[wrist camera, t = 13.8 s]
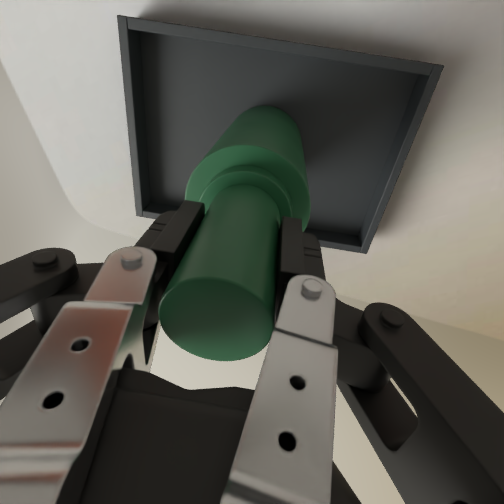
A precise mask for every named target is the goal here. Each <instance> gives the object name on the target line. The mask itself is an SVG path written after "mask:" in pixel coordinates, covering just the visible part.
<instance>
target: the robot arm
mask: <svg viewBox="0 0 504 504" xmlns="http://www.w3.org/2000/svg"><path fill="white" fill-rule="evenodd" d="M204 216H205V204H204V203H201V202H195V201H189V200H184V201H183V203H182V204H181V206H180V207H179V208H178V210H177V211H173V210H168V211H167V212H165V213H163V214H161V215H159V216H158V217H157V218H156V220H155V221H154V222H153V224H152V225H151V226H150V227H149V230H147V231H146V232H145V233H144V234H143V236H142V237H141V238H140V239H139V241H138V242H137V243H136V245H135V246H130V247H124V248H121V249H118V250H116V251H114V252H112V253H111V254H110V255H109V256H108V257H107V258H106V260H105V262H104V263H90V264H89V263H88V264H77V263H76V258H75V255H74V254H73V253H72V252H71V251H69V250H67V249H62V248H46V249H40V250H37V251H33V252H31V253H28V254H26V255H24V256H21V257H19V258H16V259H14V260H11V261H9V262H7V263H4V264H2V265H0V323H2V322H4V321H6V320H7V319H9V318H11V317H13V316H15V315H17V314H18V313H20V312H22V311H24V310H26V309H28V308H29V307H30V309H31V312H32V314H33V317H34V319H35V320H33V321H31V322H30V323H28V324H26V325H25V326H23V327H21V328H19V329H18V330H16V331H14V332H13V333H11V334H9V335H7V336H6V337H4V338H2V339H1V340H0V400H1V399H3V398H4V397H6V398H5V399H4V401H3V402H2V404H1V406H0V504H361V502H360V501H359V499H358V498H357V496H356V495H355V493H354V492H353V491H352V489H351V487H350V486H349V484H348V483H347V481H346V480H345V478H344V477H343V475H342V474H341V472H340V471H339V470H338V468H337V466H336V465H335V463H334V462H333V460H332V459H333V440H334V422H335V420H334V419H335V402H336V383H337V385H338V387H339V389H340V391H341V392H342V394H343V396H344V398H345V399H346V401H347V403H348V404H349V406H350V408H351V410H352V412H353V413H354V415H355V417H356V418H357V420H358V422H359V424H360V426H361V427H362V429H363V431H364V432H365V434H366V436H367V438H368V439H369V441H370V443H371V445H372V446H373V448H374V450H375V452H376V453H377V455H378V457H379V459H380V460H381V462H382V464H383V466H384V467H385V469H386V471H387V472H388V474H389V476H390V477H391V479H392V481H393V483H394V485H395V486H396V488H397V490H398V492H399V493H400V495H401V497H402V499H403V500H404V502H405V504H504V413H503V412H502V411H501V410H500V409H499V408H498V407H497V405H496V404H495V403H493V401H492V400H491V399H490V398H489V397H488V396H486V394H485V393H484V392H483V391H482V390H481V389H480V388H479V387H478V386H477V385H476V384H475V383H474V382H473V381H472V380H471V379H470V378H469V377H468V376H467V374H466V373H465V372H464V371H462V370H461V368H460V367H459V366H458V365H457V364H456V363H455V362H454V361H453V360H452V359H451V358H450V357H449V356H448V355H447V354H446V353H445V352H444V351H443V350H442V349H441V348H440V347H439V346H438V345H437V344H436V343H435V341H433V339H432V338H431V337H430V336H429V335H428V334H427V333H426V332H425V331H424V330H423V329H422V328H421V327H420V326H419V325H418V324H417V323H416V322H415V321H414V320H413V319H412V318H411V317H410V316H409V315H408V314H407V313H405V312H404V311H403V310H401V309H399V308H397V307H395V306H393V305H390V304H386V303H372V304H369V305H368V306H367V307H366V308H365V310H364V311H362V310H359V309H357V308H354V307H352V306H349V305H347V304H345V303H343V302H341V301H340V300H338V299H337V298H336V293H335V290H334V288H333V287H332V286H331V285H330V284H329V283H328V282H327V281H326V279H325V273H324V266H323V260H322V254H321V248H320V242H319V240H318V239H317V238H316V237H315V236H314V234H312V233H306V232H302V220H301V219H298V218H292V217H286V216H282V219H281V224H280V229H279V245H278V262H277V280H276V304H275V322H274V329H273V332H272V335H271V339H270V342H269V345H268V349H267V352H266V355H265V359H264V362H263V365H262V368H261V372H260V375H259V378H258V382H257V385H256V389H255V390H251V389H245V388H240V387H224V388H211V389H197V390H187V389H184V388H182V387H179V386H177V385H175V384H173V383H171V382H169V381H166V380H164V379H162V378H160V377H158V376H156V375H153V374H151V373H150V368H151V365H152V361H153V356H154V352H155V348H156V343H157V339H158V335H159V330H160V326H161V324H160V321H159V315H158V307H159V302H160V300H161V297H162V295H163V293H164V292H165V290H166V288H167V286H168V284H169V282H170V280H171V278H172V276H173V275H174V273H175V271H176V269H177V267H178V265H179V263H180V261H181V259H182V257H183V256H184V254H185V252H186V250H187V248H188V246H189V244H190V242H191V240H192V238H193V237H194V235H195V233H196V231H197V229H198V227H199V225H200V223H201V221H202V219H203V218H204ZM391 377H392V378H393V380H394V381H395V382H396V384H397V385H398V387H399V388H400V389H401V391H402V392H403V393H404V395H405V396H406V397H407V399H408V400H409V401H410V403H411V404H412V406H413V407H414V409H415V411H416V414H417V417H418V418H417V417H416V415H415V414H414V413H413V411H412V410H411V408H410V407H409V406H408V404H407V403H406V402H405V400H404V399H403V397H402V396H401V395H400V393H399V392H398V391H397V389H396V388H395V387H394V385H393V384H392V382H391V381H390V378H391Z"/></svg>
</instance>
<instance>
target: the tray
mask: <svg viewBox="0 0 504 504" xmlns="http://www.w3.org/2000/svg"><path fill="white" fill-rule="evenodd" d="M117 20H118V30H119V41H120V51H121V62H122V72H123V83H124V93H125V103H126V114H127V124H128V135H129V145H130V156H131V166H132V176H133V187H134V197H135V208H136V216H140V217H146V218H152V219H156V218H157V217H158V216H159V215H161V214H163V213H165V212H167V211H168V210H173V211H177V210H178V208H179V207H180V206H181V204H182V203H183V201H184V200H185V191H186V187H187V183H188V180H189V178H190V176H191V174H192V172H193V170H194V169H195V168H196V166H197V165H198V164H199V163H200V161H201V160H202V159H203V158H204V157H205V155H206V154H207V153H208V152H209V151H210V149H211V148H212V147H213V146H214V145H215V143H216V142H217V141H218V140H219V139H220V137H221V136H222V135H223V134H224V133H225V131H226V130H227V129H228V128H229V127H230V125H231V124H232V123H233V122H234V121H235V119H236V118H237V117H238V116H239V115H240V114H242V113H243V112H244V111H246V110H248V109H250V108H253V107H256V106H272V107H276V108H278V109H281V110H282V111H284V112H286V113H287V114H288V115H289V116H290V117H291V118H292V119H293V120H294V121H295V123H296V124H297V126H298V128H299V131H300V134H301V139H302V145H303V152H304V159H305V166H306V172H307V179H308V186H309V193H310V201H311V212H310V217H309V221H308V224H307V227H306V229H305V231H304V232H306V233H312V234H314V236H315V237H316V238H317V239H318V240H319V242H320V246H321V247H327V248H334V249H340V250H346V251H352V252H358V253H359V252H360V253H364V254H367V252H368V249H369V247H370V244H371V242H372V240H373V237H374V235H375V232H376V230H377V228H378V225H379V223H380V220H381V218H382V215H383V213H384V211H385V208H386V206H387V203H388V201H389V198H390V196H391V194H392V191H393V189H394V186H395V184H396V182H397V179H398V177H399V174H400V172H401V169H402V167H403V165H404V162H405V160H406V157H407V155H408V153H409V150H410V148H411V145H412V143H413V140H414V138H415V136H416V133H417V131H418V128H419V126H420V123H421V121H422V119H423V116H424V114H425V111H426V109H427V107H428V104H429V102H430V99H431V97H432V94H433V92H434V90H435V87H436V85H437V82H438V80H439V78H440V75H441V73H442V70H443V68H444V65H439V64H432V63H426V62H419V61H413V60H406V59H400V58H393V57H387V56H380V55H374V54H367V53H361V52H354V51H348V50H342V49H335V48H329V47H322V46H316V45H309V44H303V43H296V42H290V41H283V40H277V39H270V38H264V37H257V36H251V35H244V34H238V33H231V32H225V31H218V30H212V29H206V28H199V27H193V26H186V25H180V24H173V23H167V22H160V21H154V20H147V19H141V18H134V17H127V16H121V15H117Z"/></svg>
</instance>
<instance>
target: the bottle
mask: <svg viewBox="0 0 504 504" xmlns="http://www.w3.org/2000/svg"><path fill="white" fill-rule="evenodd" d="M185 200H189V201H195V202H201V203H204V204H205V216H204V218H203V219H202V221H201V223H200V225H199V227H198V229H197V231H196V233H195V235H194V237H193V238H192V240H191V242H190V244H189V246H188V248H187V250H186V252H185V254H184V256H183V257H182V259H181V261H180V263H179V265H178V267H177V269H176V271H175V273H174V275H173V276H172V278H171V280H170V282H169V284H168V286H167V288H166V290H165V292H164V293H163V295H162V297H161V300H160V302H159V307H158V315H159V321H160V324H161V326H162V328H163V330H164V332H165V333H166V334H167V336H168V337H169V338H170V339H171V340H172V341H173V342H174V343H175V344H177V345H178V346H179V347H181V348H182V349H184V350H186V351H187V352H189V353H191V354H194V355H196V356H199V357H202V358H205V359H211V360H216V361H235V360H241V359H245V358H248V357H250V356H253V355H255V354H257V353H258V352H260V351H261V350H262V349H263V348H264V347H265V346H266V345H267V344H268V343H269V341H270V339H271V335H272V332H273V329H274V322H275V304H276V280H277V262H278V245H279V229H280V224H281V219H282V216H286V217H292V218H298V219H301V220H302V232H304V231H305V229H306V227H307V224H308V221H309V217H310V212H311V201H310V193H309V186H308V179H307V172H306V166H305V159H304V152H303V145H302V139H301V134H300V131H299V128H298V126H297V124H296V123H295V121H294V120H293V119H292V118H291V117H290V116H289V115H288V114H287V113H286V112H284V111H282V110H281V109H278V108H276V107H272V106H256V107H253V108H250V109H248V110H246V111H244V112H243V113H242V114H240V115H239V116H238V117H237V118H236V119H235V121H234V122H233V123H232V124H231V125H230V127H229V128H228V129H227V130H226V131H225V133H224V134H223V135H222V136H221V137H220V139H219V140H218V141H217V142H216V143H215V145H214V146H213V147H212V148H211V149H210V151H209V152H208V153H207V154H206V155H205V157H204V158H203V159H202V160H201V161H200V163H199V164H198V165H197V166H196V168H195V169H194V170H193V172H192V174H191V176H190V178H189V180H188V183H187V187H186V191H185Z"/></svg>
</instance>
